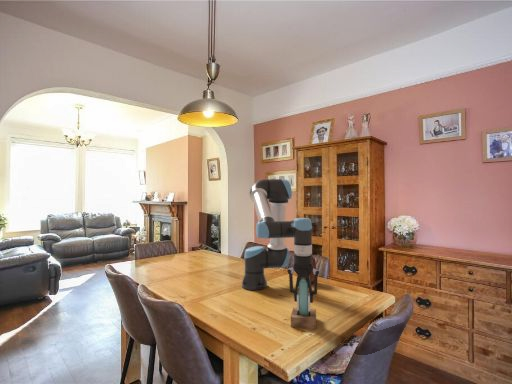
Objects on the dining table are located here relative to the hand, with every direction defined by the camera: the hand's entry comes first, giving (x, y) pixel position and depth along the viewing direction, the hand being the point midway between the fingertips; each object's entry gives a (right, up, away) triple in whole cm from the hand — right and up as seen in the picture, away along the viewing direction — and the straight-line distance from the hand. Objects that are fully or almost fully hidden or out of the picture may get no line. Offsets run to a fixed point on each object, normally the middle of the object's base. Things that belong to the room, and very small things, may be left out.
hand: (303, 309), depth 116 cm
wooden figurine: (+12, -7, +54) cm, 55 cm away
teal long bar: (0, -4, 0) cm, 4 cm away
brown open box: (0, -5, 0) cm, 5 cm away
